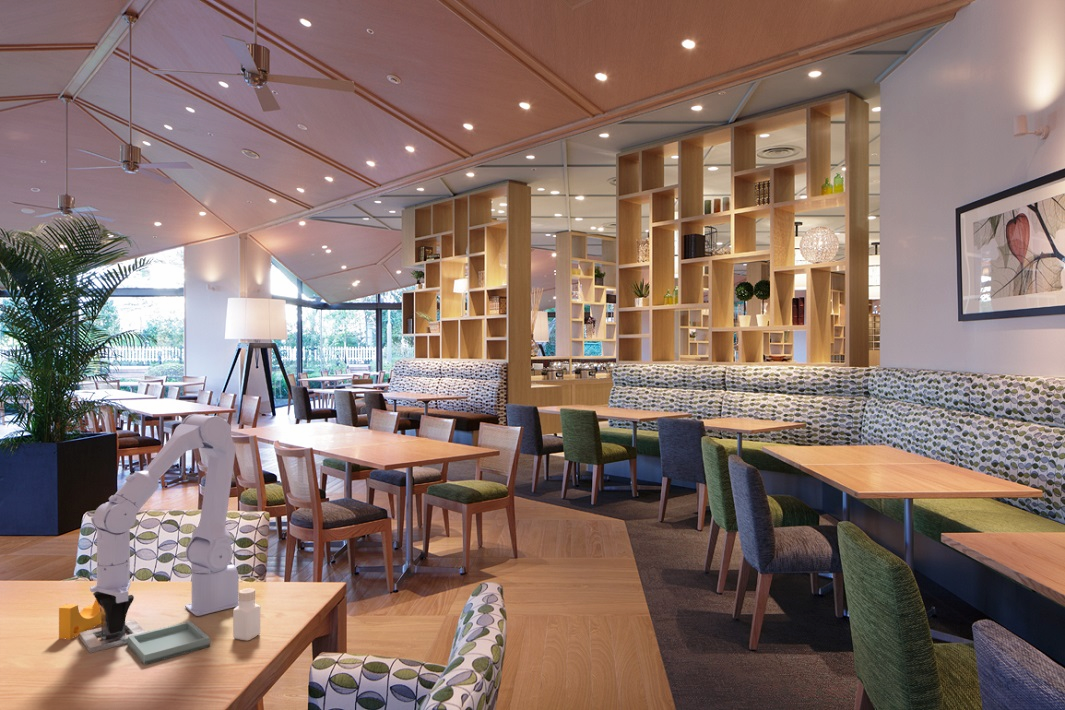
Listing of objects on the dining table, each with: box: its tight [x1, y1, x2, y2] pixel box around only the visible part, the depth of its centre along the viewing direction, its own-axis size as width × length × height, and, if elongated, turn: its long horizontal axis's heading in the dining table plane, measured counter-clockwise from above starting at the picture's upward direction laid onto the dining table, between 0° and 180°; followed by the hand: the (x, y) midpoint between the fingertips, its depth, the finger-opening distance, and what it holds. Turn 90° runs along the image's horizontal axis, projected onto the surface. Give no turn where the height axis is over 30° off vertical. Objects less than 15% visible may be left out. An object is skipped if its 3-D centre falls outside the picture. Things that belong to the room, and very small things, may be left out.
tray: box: [127, 620, 211, 665], centre depth 136 cm, size 12×12×2 cm
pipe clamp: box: [58, 599, 101, 640], centre depth 146 cm, size 12×4×6 cm, turn 172°
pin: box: [99, 603, 126, 641], centre depth 140 cm, size 4×4×7 cm
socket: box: [78, 619, 147, 654], centre depth 140 cm, size 10×10×1 cm
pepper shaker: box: [232, 587, 261, 641], centre depth 141 cm, size 4×4×10 cm
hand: (113, 628), depth 140 cm, fingers closed on pin, 4 cm apart
